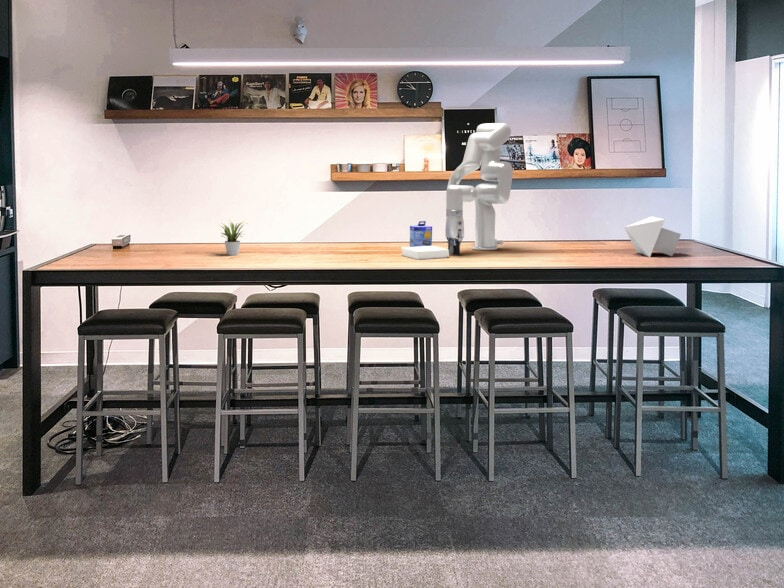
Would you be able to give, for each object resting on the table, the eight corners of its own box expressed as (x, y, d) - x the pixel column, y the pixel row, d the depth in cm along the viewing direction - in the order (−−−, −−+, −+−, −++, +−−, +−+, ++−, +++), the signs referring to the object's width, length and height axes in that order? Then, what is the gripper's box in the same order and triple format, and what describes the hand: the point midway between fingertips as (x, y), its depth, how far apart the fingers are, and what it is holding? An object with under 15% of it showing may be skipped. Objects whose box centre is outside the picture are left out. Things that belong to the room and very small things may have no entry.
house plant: (254, 252, 379) (253, 218, 376) (246, 256, 365) (245, 220, 362) (225, 252, 380) (224, 217, 377) (216, 256, 367) (214, 220, 364)
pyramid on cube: (611, 243, 377) (625, 207, 374) (658, 259, 380) (672, 223, 377) (622, 248, 361) (637, 209, 358) (671, 264, 363) (686, 227, 360)
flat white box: (432, 253, 376) (432, 245, 375) (448, 257, 361) (448, 249, 361) (401, 255, 369) (401, 247, 368) (417, 259, 355) (417, 251, 354)
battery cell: (455, 253, 374) (455, 237, 373) (459, 254, 371) (460, 238, 369) (448, 254, 372) (448, 238, 371) (452, 255, 369) (452, 238, 368)
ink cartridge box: (414, 252, 380) (414, 221, 377) (408, 251, 385) (409, 220, 382) (432, 251, 384) (432, 220, 381) (427, 249, 389) (427, 220, 386)
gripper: (470, 214, 362) (470, 255, 365) (452, 212, 377) (452, 250, 380) (456, 215, 359) (455, 256, 362) (438, 212, 374) (438, 251, 377)
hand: (453, 252), depth 371 cm, fingers closed on battery cell, 4 cm apart
